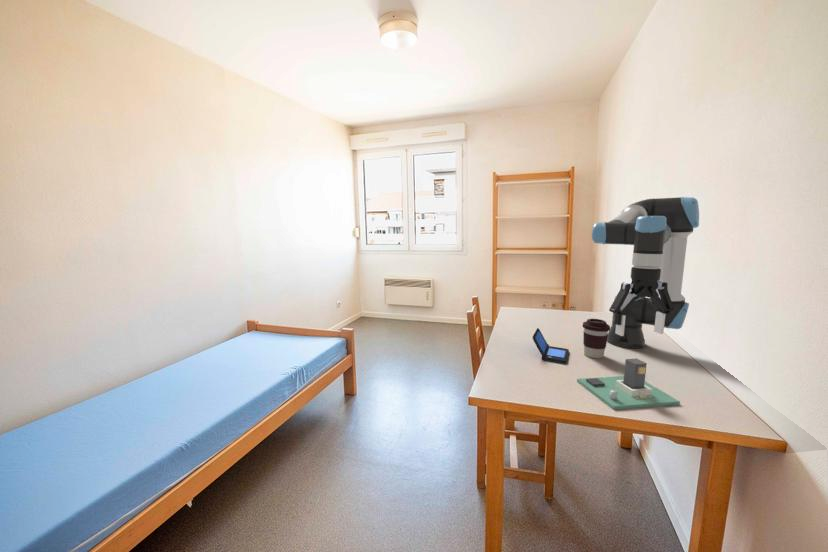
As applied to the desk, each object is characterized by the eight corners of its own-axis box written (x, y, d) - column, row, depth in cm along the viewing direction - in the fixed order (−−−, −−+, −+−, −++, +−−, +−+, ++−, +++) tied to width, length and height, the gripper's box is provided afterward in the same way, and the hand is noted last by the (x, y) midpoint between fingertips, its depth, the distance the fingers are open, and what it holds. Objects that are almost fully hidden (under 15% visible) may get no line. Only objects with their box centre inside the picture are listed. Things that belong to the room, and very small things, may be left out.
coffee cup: (606, 353, 143) (609, 319, 141) (608, 361, 134) (611, 325, 132) (580, 349, 147) (582, 316, 145) (580, 357, 139) (583, 322, 136)
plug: (633, 387, 112) (636, 358, 110) (645, 394, 107) (648, 364, 105) (622, 387, 111) (625, 359, 110) (634, 395, 106) (637, 365, 105)
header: (634, 384, 113) (635, 379, 113) (653, 396, 106) (653, 390, 106) (615, 386, 112) (615, 380, 112) (632, 397, 105) (633, 391, 105)
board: (634, 377, 121) (635, 368, 120) (679, 404, 103) (680, 394, 102) (576, 381, 118) (577, 372, 117) (613, 409, 100) (614, 398, 100)
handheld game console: (566, 365, 132) (567, 342, 131) (530, 358, 138) (531, 337, 137) (568, 351, 146) (570, 331, 144) (536, 346, 152) (537, 326, 150)
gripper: (672, 264, 108) (664, 328, 112) (600, 266, 105) (594, 331, 109) (693, 267, 101) (685, 335, 104) (617, 269, 98) (611, 339, 101)
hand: (639, 333), depth 107 cm, fingers open, 13 cm apart
